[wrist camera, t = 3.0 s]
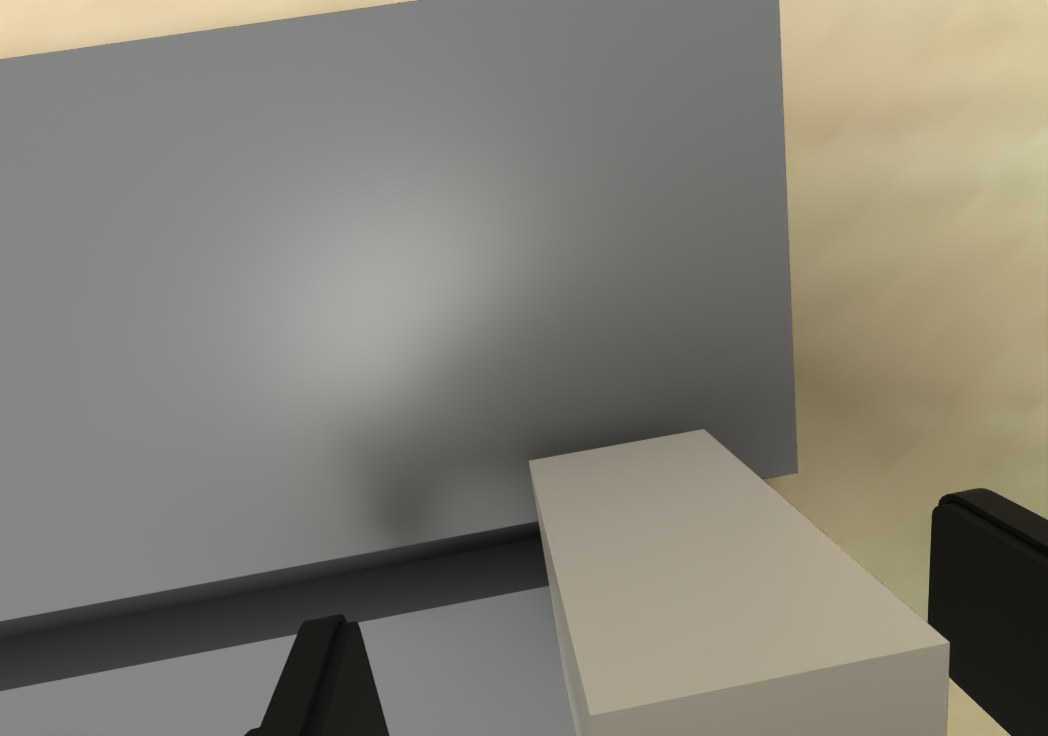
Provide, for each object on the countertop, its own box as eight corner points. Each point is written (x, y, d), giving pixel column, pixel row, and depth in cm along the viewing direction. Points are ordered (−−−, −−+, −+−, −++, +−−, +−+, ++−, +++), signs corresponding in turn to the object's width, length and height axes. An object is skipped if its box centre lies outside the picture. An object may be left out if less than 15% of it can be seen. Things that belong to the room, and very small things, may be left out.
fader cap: (667, 397, 13) (948, 642, 5) (685, 582, 15) (937, 1001, 7) (519, 423, 13) (589, 715, 5) (550, 608, 14) (645, 1070, 7)
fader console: (708, 12, 13) (782, -57, 10) (759, 766, 18) (817, 876, 15) (-426, 177, 12) (-745, 159, 9) (-18, 930, 17) (-126, 1084, 14)
